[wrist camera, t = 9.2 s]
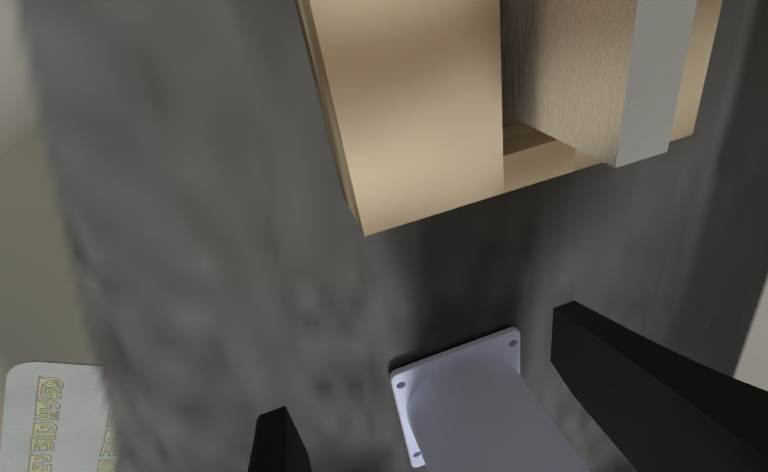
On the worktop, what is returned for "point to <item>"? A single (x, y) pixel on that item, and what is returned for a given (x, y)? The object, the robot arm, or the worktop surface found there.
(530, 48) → the silver rectangular block
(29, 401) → the white patterned panel
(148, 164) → the worktop surface
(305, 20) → the slotted tan block
